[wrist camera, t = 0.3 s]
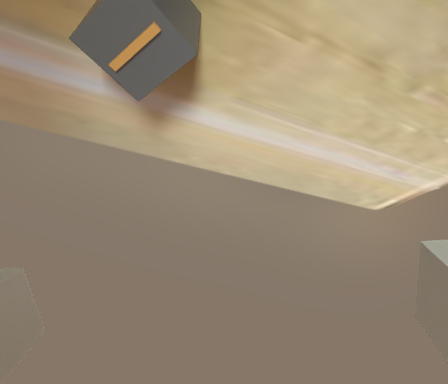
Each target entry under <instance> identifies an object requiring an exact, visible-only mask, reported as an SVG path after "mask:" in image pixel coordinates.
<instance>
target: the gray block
mask: <svg viewBox="0 0 448 384" xmlns="http://www.w3.org/2000/svg"><path fill="white" fill-rule="evenodd" d="M200 21H201V13H200V12H199V10H198V9H197V8H196V7H195V5H194V4H193V3H192V1H191V0H97V1H96V2H95V4H94V5H93V6H92V8H91V9H90V10H89V12H88V13H87V15H86V16H85V17H84V19H83V20H82V21H81V23H80V24H79V25H78V27H77V28H76V29H75V31H74V32H73V33H72V35H71V36H70V37H69V39H70V40H71V41H72V42H73V43H74V44H76V45H77V46H78V47H79V48H80V49H81V50H82V51H83V52H84V53H85V54H87V55H88V56H89V57H90V58H91V59H92V60H93V61H94V62H95V63H97V64H98V65H99V66H100V67H101V68H102V69H103V70H104V71H105V72H106V73H108V74H109V75H110V76H111V77H112V78H113V79H114V80H115V81H116V82H117V83H119V84H120V85H121V86H122V87H123V88H124V89H125V90H126V91H127V92H129V93H130V94H131V95H132V96H133V97H134V98H135V99H136V100H137V101H140V100H141V99H142V98H143V97H145V96H146V95H147V94H148V93H150V92H151V91H152V90H153V89H155V88H156V87H157V86H158V85H160V84H161V83H162V82H163V81H165V80H166V79H167V78H168V77H170V76H171V75H172V74H174V73H175V72H176V71H177V70H179V69H180V68H181V67H182V66H184V65H185V64H186V63H187V62H189V61H190V60H191V59H192V58H194V57H195V56H196V55H197V52H198V42H199V31H200Z"/></svg>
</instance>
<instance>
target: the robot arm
mask: <svg viewBox="0 0 448 384" xmlns="http://www.w3.org/2000/svg"><path fill="white" fill-rule="evenodd" d="M415 318H416V319H417V321H418V322H419V324H420V325H421V326H422V328H423V329H424V330H425V332H426V333H427V335H428V336H429V338H430V339H431V341H432V342H433V343H434V345H435V346H436V348H437V349H438V350H439V352H440V353H441V355H442V356H443V358H444V359H445V360H446V362H447V363H448V240H435V241H420V253H419V267H418V280H417V294H416V306H415ZM44 332H45V329H44V326H43V323H42V321H41V318H40V315H39V312H38V309H37V306H36V303H35V301H34V298H33V295H32V292H31V289H30V286H29V284H28V281H27V278H26V275H25V272H24V270H23V267H19V268H4V269H2V270H0V384H1V383H2V382H3V381H4V380H5V379H6V378H7V376H8V375H9V374H10V373H11V372H12V370H13V369H14V368H15V367H16V366H17V364H18V363H19V362H20V361H21V360H22V359H23V357H24V356H25V355H26V354H27V352H28V351H29V350H30V349H31V348H32V347H33V345H34V344H35V343H36V342H37V341H38V340H39V338H40V337H41V336H42V335H43V334H44Z"/></svg>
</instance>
